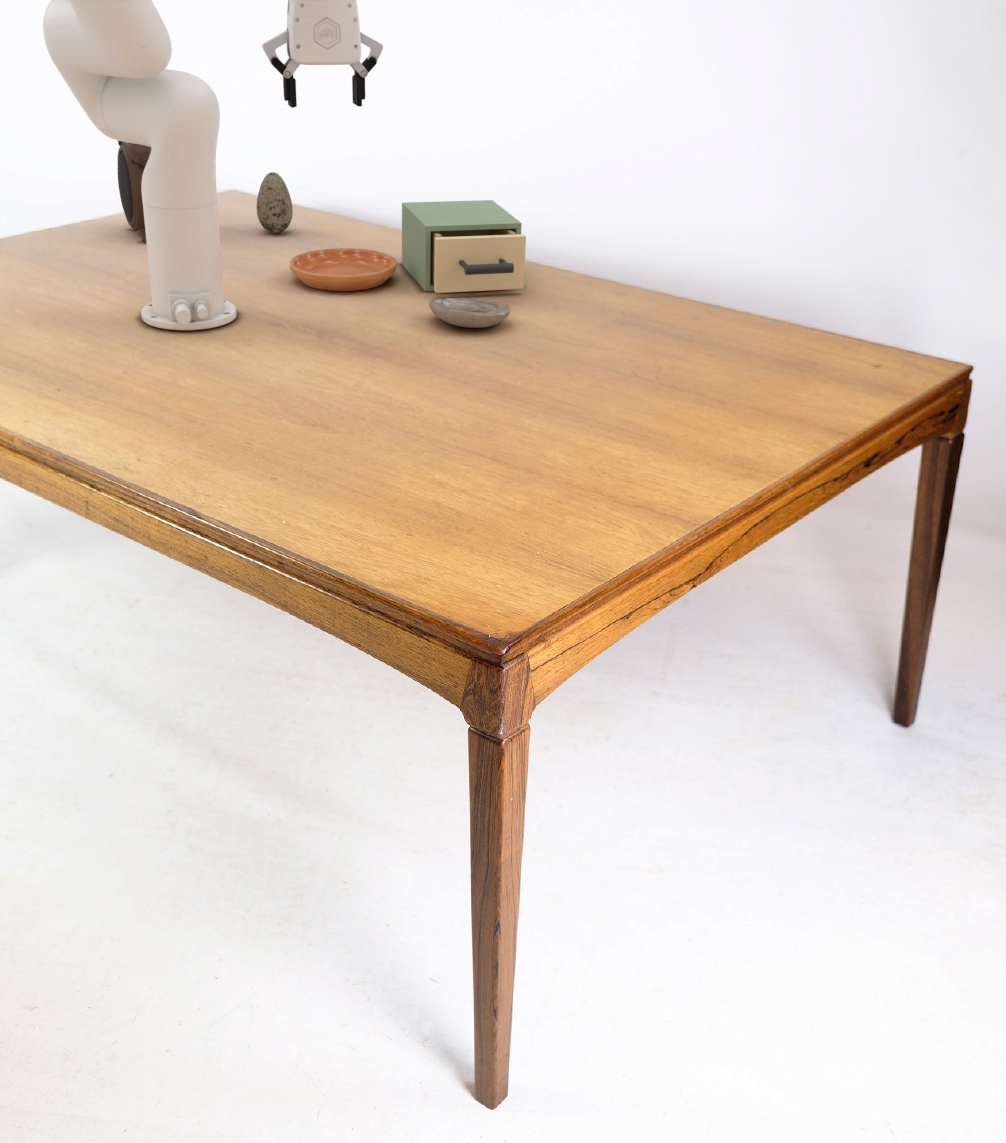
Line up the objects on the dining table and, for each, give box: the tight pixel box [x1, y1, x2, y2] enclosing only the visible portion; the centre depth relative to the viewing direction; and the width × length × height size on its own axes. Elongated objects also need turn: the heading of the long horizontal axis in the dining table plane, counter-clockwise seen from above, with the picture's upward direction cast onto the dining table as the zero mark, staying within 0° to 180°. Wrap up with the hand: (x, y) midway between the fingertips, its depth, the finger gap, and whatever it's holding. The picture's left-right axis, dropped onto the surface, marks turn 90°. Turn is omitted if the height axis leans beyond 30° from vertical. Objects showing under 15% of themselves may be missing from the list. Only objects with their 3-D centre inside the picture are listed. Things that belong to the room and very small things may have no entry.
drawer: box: [430, 229, 527, 294], centre depth 192 cm, size 19×13×8 cm
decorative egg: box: [256, 171, 294, 234], centre depth 217 cm, size 6×6×10 cm
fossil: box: [428, 297, 512, 329], centre depth 178 cm, size 10×12×3 cm
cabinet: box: [401, 199, 522, 292], centre depth 198 cm, size 16×15×10 cm
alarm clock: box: [117, 140, 151, 243], centre depth 210 cm, size 15×7×20 cm, turn 25°
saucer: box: [289, 247, 398, 292], centre depth 194 cm, size 16×16×3 cm
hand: (325, 105), depth 189 cm, fingers open, 9 cm apart
